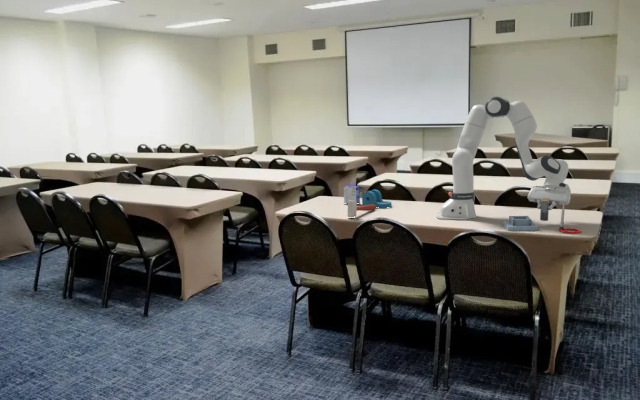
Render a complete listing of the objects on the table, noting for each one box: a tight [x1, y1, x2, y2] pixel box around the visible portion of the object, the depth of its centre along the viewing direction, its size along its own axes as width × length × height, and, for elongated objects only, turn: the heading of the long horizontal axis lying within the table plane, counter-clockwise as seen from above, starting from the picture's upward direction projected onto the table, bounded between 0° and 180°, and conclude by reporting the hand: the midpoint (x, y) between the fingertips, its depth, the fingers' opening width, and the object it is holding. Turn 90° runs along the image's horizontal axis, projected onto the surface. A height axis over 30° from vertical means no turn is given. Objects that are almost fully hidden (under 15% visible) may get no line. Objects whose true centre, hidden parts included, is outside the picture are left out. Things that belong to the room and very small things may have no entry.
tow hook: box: [558, 205, 582, 235], centre depth 247 cm, size 8×13×9 cm
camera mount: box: [361, 189, 392, 209], centre depth 337 cm, size 18×10×10 cm, turn 57°
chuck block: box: [502, 215, 539, 232], centre depth 261 cm, size 14×14×5 cm
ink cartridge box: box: [343, 182, 361, 204], centre depth 349 cm, size 10×6×14 cm, turn 57°
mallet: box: [347, 201, 377, 217], centre depth 315 cm, size 11×4×30 cm
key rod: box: [539, 198, 550, 222], centre depth 262 cm, size 4×4×11 cm
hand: (544, 208), depth 261 cm, fingers closed on key rod, 4 cm apart
